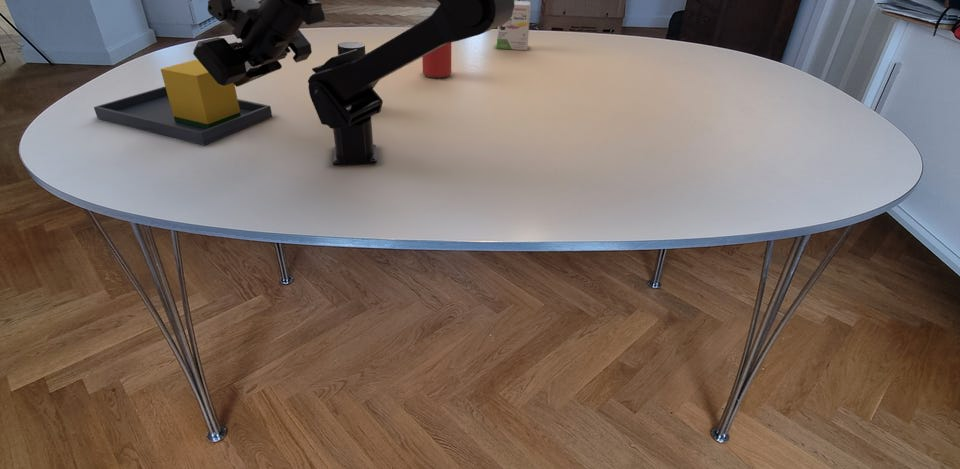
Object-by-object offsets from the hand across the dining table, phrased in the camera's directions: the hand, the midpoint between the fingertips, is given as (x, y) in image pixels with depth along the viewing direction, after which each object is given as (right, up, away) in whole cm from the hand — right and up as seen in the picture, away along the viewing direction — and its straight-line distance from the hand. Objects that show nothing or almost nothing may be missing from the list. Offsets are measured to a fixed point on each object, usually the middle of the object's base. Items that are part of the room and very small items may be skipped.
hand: (236, 83), depth 87 cm
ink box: (+48, +27, +63) cm, 84 cm away
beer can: (+29, +12, +37) cm, 49 cm away
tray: (-13, -4, +9) cm, 16 cm away
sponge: (-8, -4, +7) cm, 11 cm away
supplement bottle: (+16, -1, +15) cm, 22 cm away
